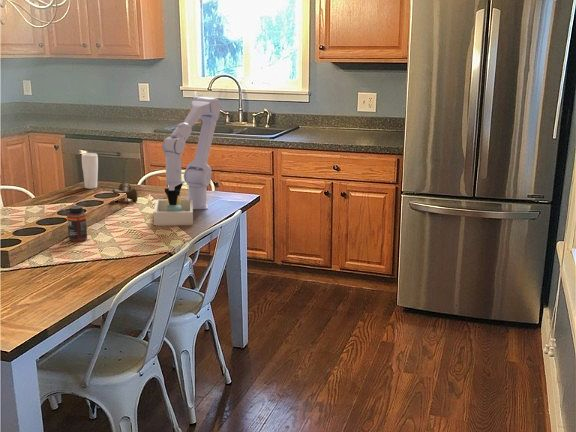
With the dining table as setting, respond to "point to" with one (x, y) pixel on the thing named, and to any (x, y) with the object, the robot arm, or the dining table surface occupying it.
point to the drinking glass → (90, 169)
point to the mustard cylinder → (177, 200)
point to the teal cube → (174, 208)
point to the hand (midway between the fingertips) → (174, 204)
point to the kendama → (127, 191)
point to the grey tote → (173, 214)
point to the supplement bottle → (77, 224)
